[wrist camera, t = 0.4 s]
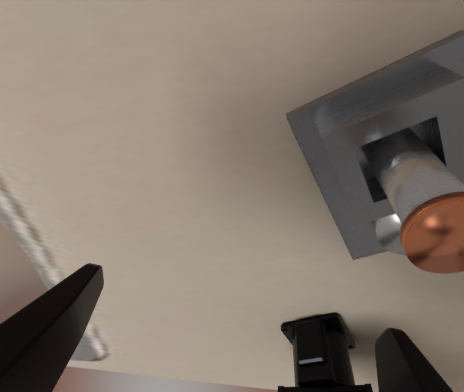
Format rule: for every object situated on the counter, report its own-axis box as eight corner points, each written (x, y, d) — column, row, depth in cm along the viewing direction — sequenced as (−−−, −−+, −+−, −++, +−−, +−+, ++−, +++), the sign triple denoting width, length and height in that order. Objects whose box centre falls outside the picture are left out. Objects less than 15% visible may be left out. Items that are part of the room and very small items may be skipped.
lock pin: (426, 156, 19) (517, 259, 12) (365, 178, 21) (415, 281, 13) (414, 104, 17) (512, 189, 10) (349, 132, 19) (396, 223, 12)
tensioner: (485, 216, 22) (515, 248, 20) (351, 253, 26) (360, 284, 23) (462, 29, 16) (501, 39, 13) (286, 113, 19) (288, 135, 17)
